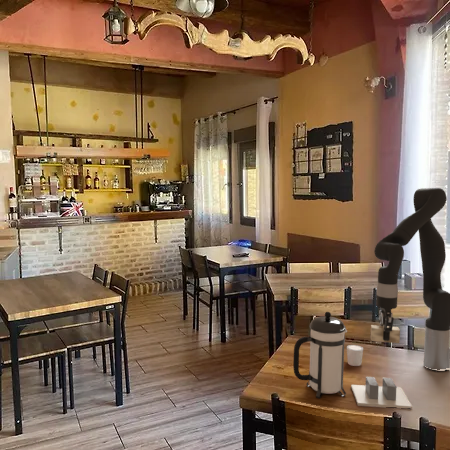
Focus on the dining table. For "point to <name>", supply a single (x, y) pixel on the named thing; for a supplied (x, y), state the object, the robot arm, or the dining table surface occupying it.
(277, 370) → the dining table surface
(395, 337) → the birch lintel
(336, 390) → the coffee press
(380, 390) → the bridge base
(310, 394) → the dining table surface
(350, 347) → the white cup
